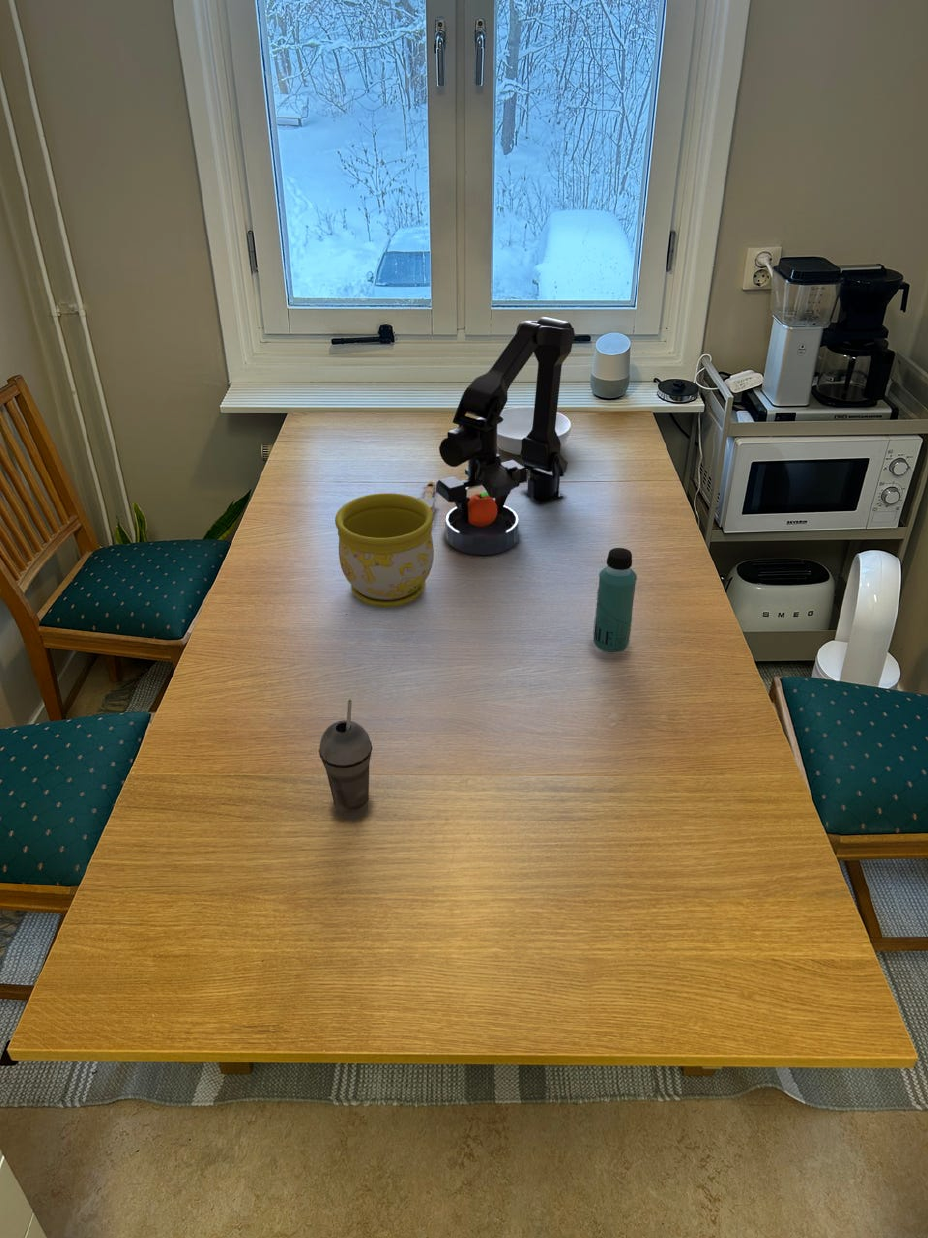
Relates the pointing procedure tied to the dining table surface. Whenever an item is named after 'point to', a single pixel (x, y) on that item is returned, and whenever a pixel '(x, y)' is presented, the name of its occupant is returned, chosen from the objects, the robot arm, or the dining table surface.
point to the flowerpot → (386, 547)
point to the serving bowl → (524, 428)
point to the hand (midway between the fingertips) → (482, 517)
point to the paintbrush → (429, 496)
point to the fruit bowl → (482, 533)
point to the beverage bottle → (615, 602)
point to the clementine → (481, 510)
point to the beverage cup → (347, 765)
